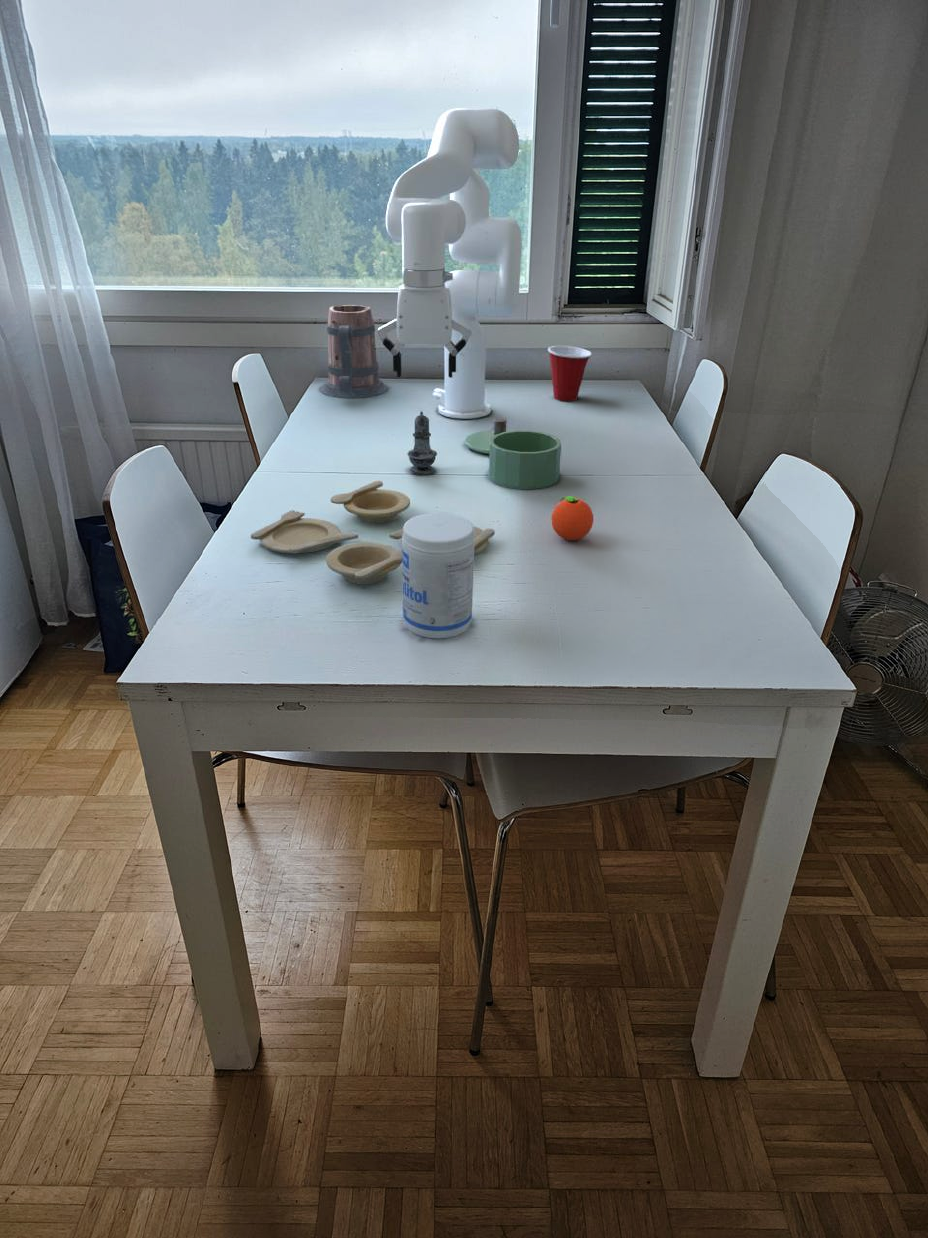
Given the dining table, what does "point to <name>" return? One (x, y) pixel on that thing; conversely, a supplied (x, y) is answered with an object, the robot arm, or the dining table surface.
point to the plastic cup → (567, 370)
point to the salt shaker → (422, 448)
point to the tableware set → (350, 535)
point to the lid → (486, 436)
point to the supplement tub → (437, 574)
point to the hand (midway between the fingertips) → (424, 375)
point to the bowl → (524, 459)
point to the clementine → (572, 518)
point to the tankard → (352, 353)
